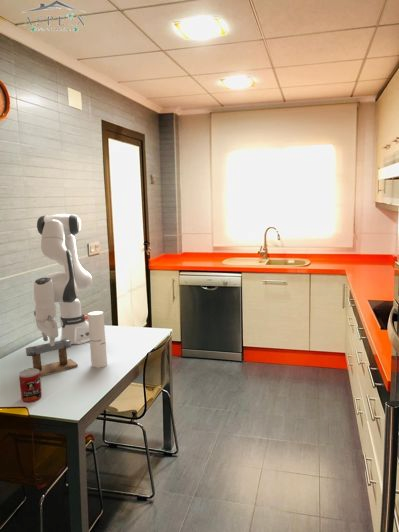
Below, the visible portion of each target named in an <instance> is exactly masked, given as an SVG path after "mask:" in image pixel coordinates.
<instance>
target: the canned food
mask: <svg viewBox="0 0 399 532" xmlns="http://www.w3.org/2000/svg"><path fill="white" fill-rule="evenodd" d="M30 368H31V369H29V368H26V370H25V369H23V370H21V371H20V372H19V373H18V379H19V380H18V381H19V388H20V397H21V401H22V402H24V403H33V402H36V401H39V400H41V398H42V395H43V394H42V393H43V392H42V383H41V376H40V371H39V369H35V368H33V367H30Z"/></svg>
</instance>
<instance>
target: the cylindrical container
mask: <svg viewBox="0 0 399 532" xmlns="http://www.w3.org/2000/svg"><path fill="white" fill-rule="evenodd" d="M87 316H88V319H87V322H88V324H89V337H90V341H89V347H90V349H89V350H90V361H91V367H93V368H103V367H105V366H107V365H108V360H107V359H108V358H107V357H108V356H107V345H106V342H107V341H106V330H105V318H104V317H105V316H104V311H101V310H96V311H91V312H88V313H87Z"/></svg>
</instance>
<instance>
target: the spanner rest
mask: <svg viewBox="0 0 399 532" xmlns="http://www.w3.org/2000/svg"><path fill="white" fill-rule="evenodd" d="M57 351H58V361H55V362H51V363H45V364H42V357H41V354H42V353H41V354H37V355H34V356H31V357H32V367H30V368H28V369H31V368H35V369H39V371H40V377H43V376H47V375H51V374H54V373H58V372H59V373H60V372H63V371H65V370H70V369H75V368H79V364H78V363H77V362H76V361H74V360H73V359H72V358H68V350H67V348H63V349H59V350H57ZM26 369H27V368H26ZM26 369H24V370H26Z"/></svg>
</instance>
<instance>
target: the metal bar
mask: <svg viewBox="0 0 399 532" xmlns="http://www.w3.org/2000/svg"><path fill="white" fill-rule="evenodd" d="M60 340H61V339H60ZM60 340H58V341H56V340H55V341H54V346H50V343H49V342H47V343H44V344H38V345H34V346H28V347H26V348H25V355H26V356H27V357H32V356H34V355H37V354H46V353H50V352H52V351H58V350H59V349H63V348H66V349H69V348H71V347H72V344H71V340H70V339H64V340H61V341H60Z"/></svg>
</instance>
